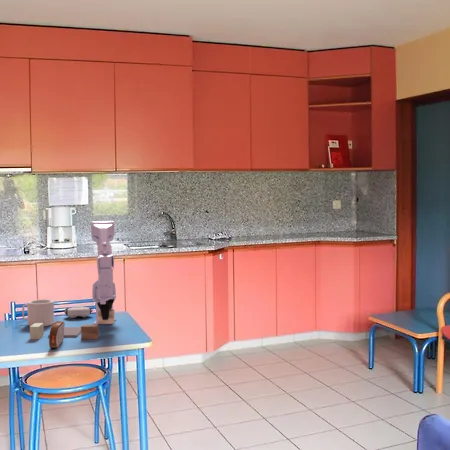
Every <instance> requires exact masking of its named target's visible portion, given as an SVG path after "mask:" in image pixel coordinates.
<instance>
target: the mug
mask: <svg viewBox="0 0 450 450" xmlns="http://www.w3.org/2000/svg"><path fill="white" fill-rule="evenodd" d="M25 307H27V317H25ZM21 309H22V310H21V311H22V319H23V320H24V321H25V320H26V321H27V326H29V327H30V326H31V325H33V324H34V323H43V326H44V327H49V326H52V325H53V324H54V323H55V302H54V300H52V299H46V298H44V299H43V298H42V299H33V300H29V301H28V302H27V303H26V304H22V308H21Z"/></svg>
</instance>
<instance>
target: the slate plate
mask: <svg viewBox="0 0 450 450" xmlns="http://www.w3.org/2000/svg"><path fill="white" fill-rule="evenodd" d="M49 335H50V333H49V334H48V338H49ZM79 335H81V326H77V327H76V326H75V327H73V326H69V327H68V326H67V327H65V326H64V338H77V337H79Z"/></svg>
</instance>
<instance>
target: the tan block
mask: <svg viewBox="0 0 450 450" xmlns="http://www.w3.org/2000/svg"><path fill="white" fill-rule="evenodd" d="M115 318H116V317H115V309H114V308H113V309H110V311H109V318H108V320H103V319H102V315H101V311H100V309H99V311H98V325H113V324H114V323H115V321H116V319H115Z"/></svg>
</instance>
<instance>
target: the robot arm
mask: <svg viewBox="0 0 450 450" xmlns="http://www.w3.org/2000/svg"><path fill="white" fill-rule="evenodd" d="M90 231H91V233H90V234H91V240H92V242H95V244H96V246H97V247H96V249H97V250H96V251H97V257H96V268H97V274H98V275H97V276H98V279H97V280H95V281H94V282H93V283H92V289H91V291H92V292H91V293H92V295H91V296H92V297H91V298H92V301H93V302H94V303H95V321H94V322H93V324H98V311H99V309H100V311H101V315H102V319H103V320H108V318H109V311H110V309H114V302H115V300H116V298H117V295H116V294H117V292H116V291H117V289H116V284H115V282H114V269H115V268H114V267H115V258H114V254H113V249H112V245H111V244H110V243H111V242H112V241H114V238H115V237H114V236H115V221H114V220H101V221H100V220H99V221H95V220H92V221H91V222H90ZM115 320H116V317H115ZM98 325H99V324H98Z"/></svg>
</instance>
